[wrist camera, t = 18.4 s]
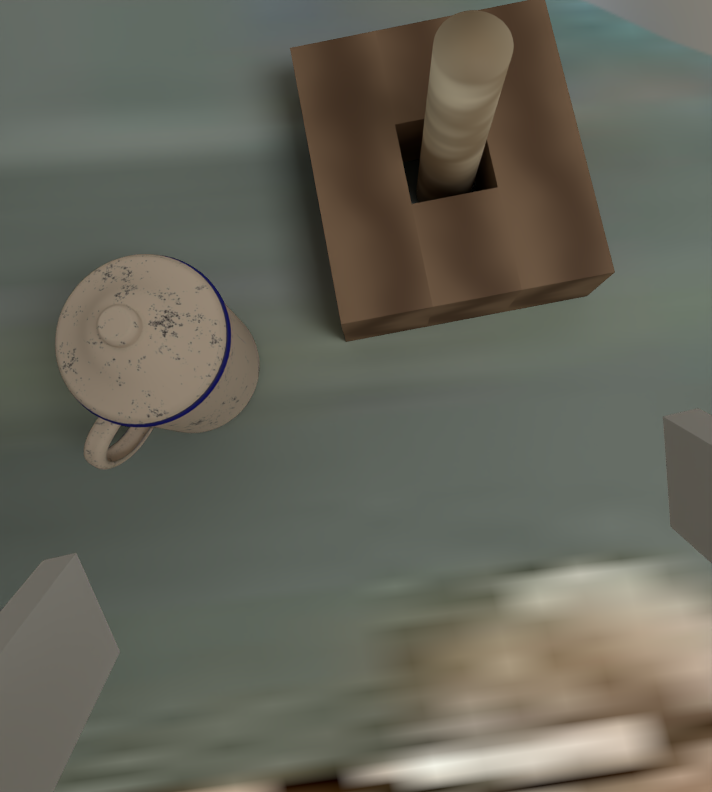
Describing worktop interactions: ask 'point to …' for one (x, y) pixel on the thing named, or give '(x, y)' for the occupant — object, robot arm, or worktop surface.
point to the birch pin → (461, 101)
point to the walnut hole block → (457, 215)
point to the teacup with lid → (152, 353)
